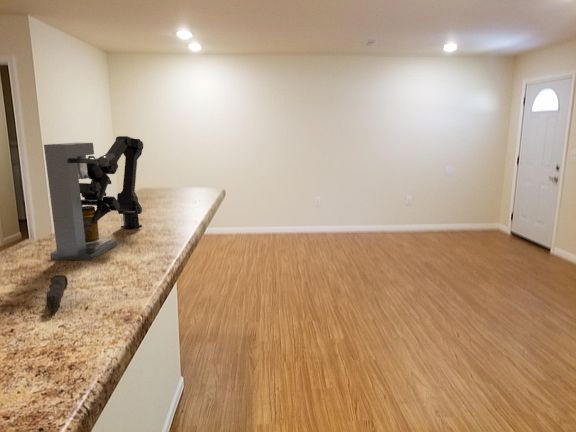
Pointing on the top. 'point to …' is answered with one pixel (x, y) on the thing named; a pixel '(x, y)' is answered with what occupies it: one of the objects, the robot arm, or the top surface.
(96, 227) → the condiment
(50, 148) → the coffee machine
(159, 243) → the top surface
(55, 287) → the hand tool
